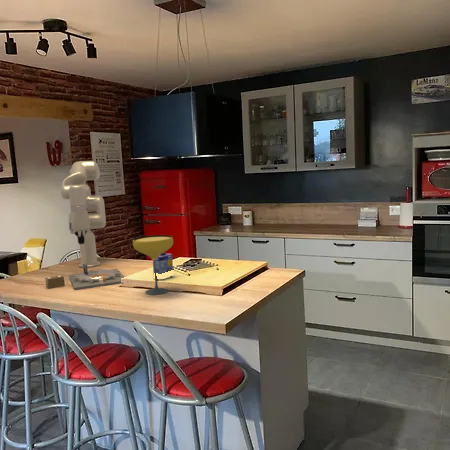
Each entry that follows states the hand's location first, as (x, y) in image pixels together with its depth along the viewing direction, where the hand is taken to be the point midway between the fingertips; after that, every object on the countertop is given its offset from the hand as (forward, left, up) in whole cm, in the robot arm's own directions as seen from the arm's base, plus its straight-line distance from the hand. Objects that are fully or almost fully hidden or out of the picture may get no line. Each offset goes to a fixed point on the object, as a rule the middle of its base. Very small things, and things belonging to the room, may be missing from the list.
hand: (81, 243), depth 247 cm
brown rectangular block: (+7, -15, -19) cm, 26 cm away
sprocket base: (+5, +6, -19) cm, 21 cm away
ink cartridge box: (+23, +37, -19) cm, 48 cm away
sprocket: (+5, +6, -18) cm, 19 cm away
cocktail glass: (+47, +27, -19) cm, 58 cm away
